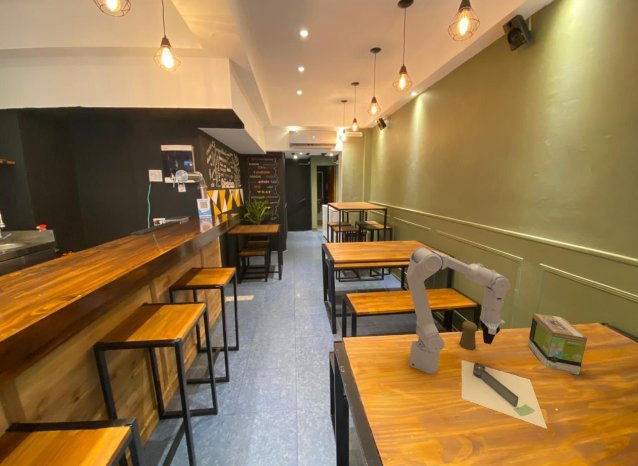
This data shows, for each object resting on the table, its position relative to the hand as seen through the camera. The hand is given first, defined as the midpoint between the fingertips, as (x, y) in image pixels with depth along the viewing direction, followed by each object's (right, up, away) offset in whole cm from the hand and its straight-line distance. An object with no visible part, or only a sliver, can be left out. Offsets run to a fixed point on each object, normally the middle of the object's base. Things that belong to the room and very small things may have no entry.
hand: (487, 342), depth 89 cm
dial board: (-2, -12, -8) cm, 15 cm away
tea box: (+29, -10, +7) cm, 32 cm away
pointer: (-3, -11, -8) cm, 14 cm away
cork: (+1, -8, +14) cm, 16 cm away
